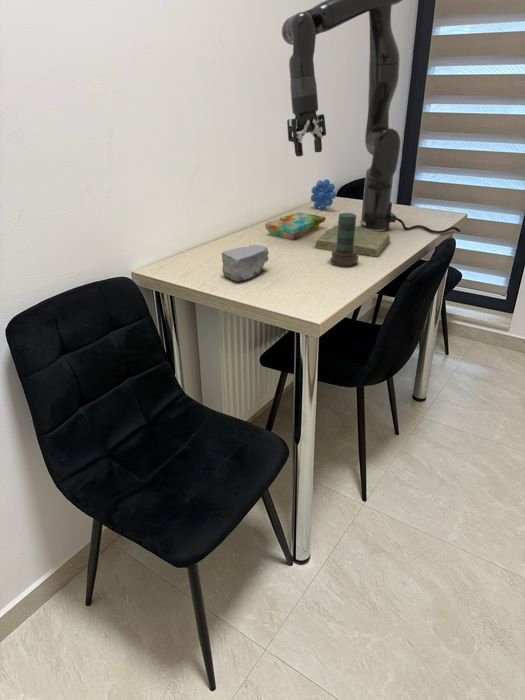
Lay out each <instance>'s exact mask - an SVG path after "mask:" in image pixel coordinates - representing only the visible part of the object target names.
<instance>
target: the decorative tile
mask: <svg viewBox="0 0 525 700" xmlns="http://www.w3.org/2000/svg"><path fill="white" fill-rule="evenodd" d="M337 234H338V225H334V226H333V227H331V228H329V229H327V230H326V231H325V232H324V233H322V234H320V236H319V237H317V238H316V239H315V248H317V249H322V250H329V251H333V248H334V247H337ZM390 235H391V234H390V233H389V232H387V231H386V232H385V231H382V232H374V231H370V230H368V229H362V228H360V226H355V234H354V245H353V247H354V248H356V249H357V250H358V253H357V255H366V256H370V257H378V256H380V254H381V253H382V251H383V250H384V249H385V248H386V246H387V245H388V244H389V243H390V242H391V241H390V240H391V237H390Z"/></svg>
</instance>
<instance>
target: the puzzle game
mask: <svg viewBox="0 0 525 700" xmlns="http://www.w3.org/2000/svg"><path fill="white" fill-rule="evenodd" d="M326 219H327V218H326V217H325V216H322V215H316V214H312V213H311V214H310V213H305V212H300V211H296V212H293V213H290V214H287V215H284V216H280V217H279V218H275V219H273V220H270V221H267V222H266V223H264V226H265V227H264V228H265V229H266V230H267V232H268V233H269V235H270V236H275V237H278V238H279V237H280V238H284V239H289V240H294V239H296V238H299V237H302V236H303V235H306V234H308V233H311V232H314V231H316V230H317V229H318V228H319V226H320V224H322V223H325V221H326Z"/></svg>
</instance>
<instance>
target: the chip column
mask: <svg viewBox="0 0 525 700" xmlns="http://www.w3.org/2000/svg"><path fill="white" fill-rule="evenodd" d="M337 221H338V222H337V226H338V234H337V247H336V250H338V251H340V252H351V251H353V245H354V234H355V227H356V224H357V214H355V213H351V212H341V213H338V220H337Z"/></svg>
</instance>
